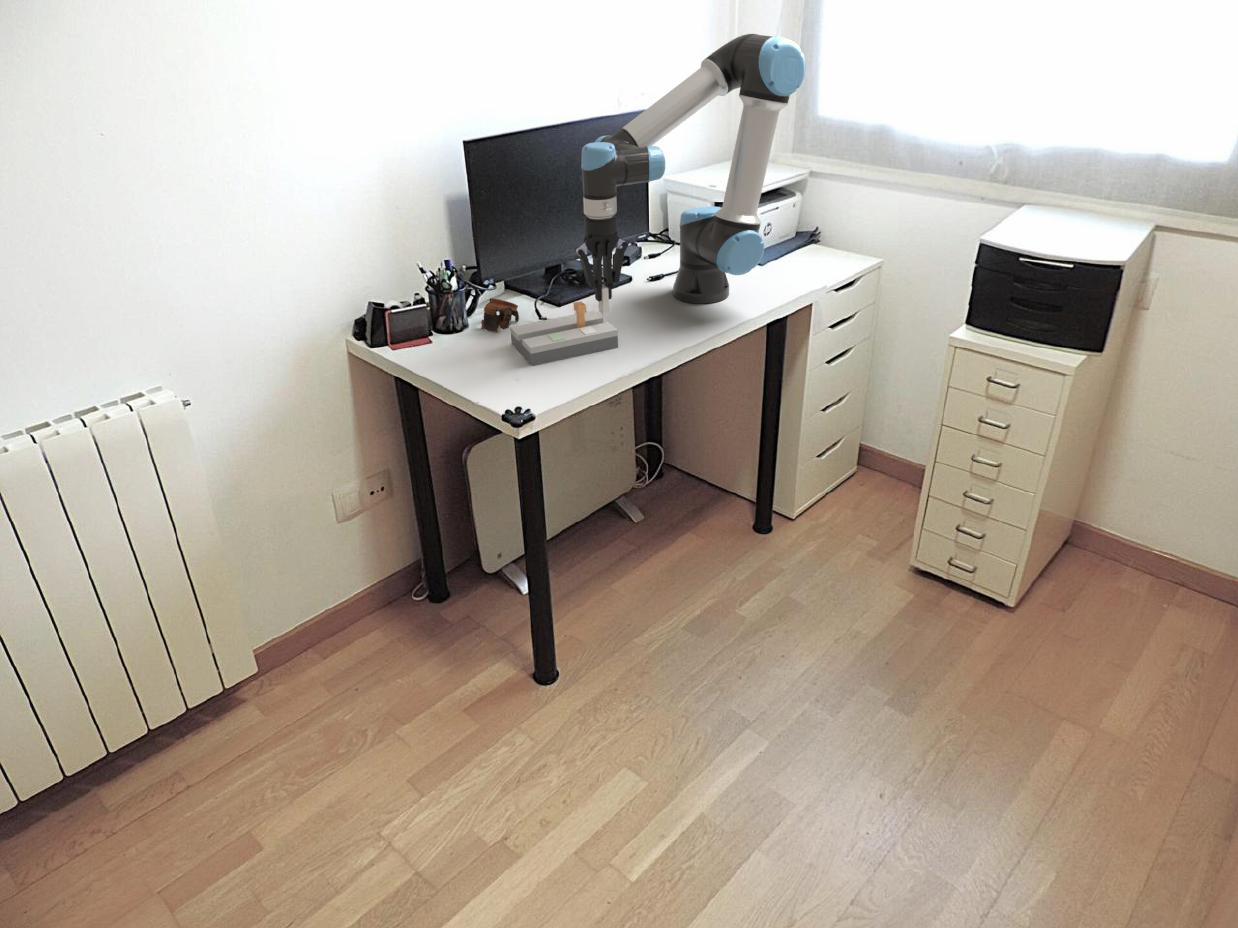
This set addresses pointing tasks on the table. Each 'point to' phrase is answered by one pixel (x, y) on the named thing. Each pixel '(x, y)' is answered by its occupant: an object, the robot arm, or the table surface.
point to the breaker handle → (580, 313)
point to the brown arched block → (504, 317)
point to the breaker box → (563, 338)
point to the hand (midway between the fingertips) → (604, 312)
